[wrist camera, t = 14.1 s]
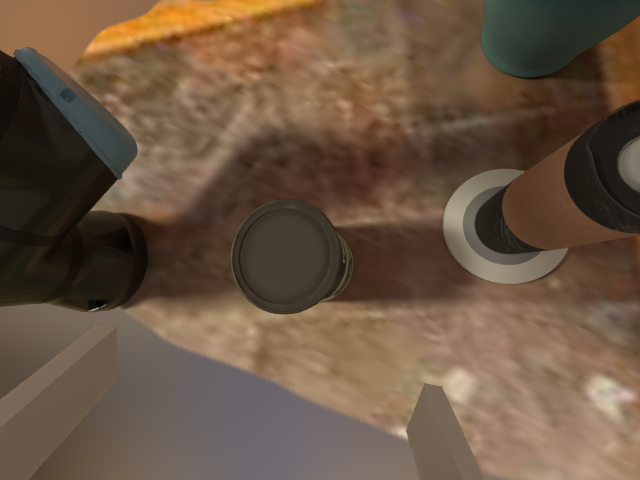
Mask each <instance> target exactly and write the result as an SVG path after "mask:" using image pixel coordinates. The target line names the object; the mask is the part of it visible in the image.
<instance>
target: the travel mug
mask: <svg viewBox="0 0 640 480" xmlns="http://www.w3.org/2000/svg"><path fill="white" fill-rule="evenodd" d="M474 225H475V231H476V234H477V236H478V238H479V240H480V241H481V242H482V243H483V244H484V245H485V246H486V247H487V248H489V249H490V250H492V251H494V252H497V253H501V254H521V253H530V252H540V251H549V250H558V249H564V248H569V247H575V246H581V245H587V244H592V243H598V242H604V241H609V240H615V239H621V238H627V237H632V236H638V235H640V100H637V101H634V102H631V103H629V104H627V105H624V106H622V107H620V108H618V109H616V110H615V111H613V112H611V113H610V114H608V115H607V116H606V117H605V118H604V119H602V120H601V121H599V122H598V123H596V124H595V125H593V126H592V127H590V128H589V129H587V130H586V131H584V132H583V133H581V134H580V135H579V136H577V137H576V138H574V139H573V140H571V141H570V142H568V143H567V144H565V145H564V146H562V147H561V148H559V149H558V150H556V151H555V152H553V153H552V154H550V155H549V156H547V157H546V158H544V159H543V160H542V161H540V162H539V163H537V164H536V165H534V166H533V167H531V168H530V169H528V170H527V171H525V172H524V173H522V174H521V175H519V176H518V177H517V178H515V179H514V180H513V181H511V182H510V183H509V184H508V185H506V186H505V187H504V188H503V189H501V190H500V191H499V192H497V193H496V194H495V195H494V196H492V197H491V198H490V199H489V200H487V201H486V202H485V203H484V204H483V205H482V206H481V207H480V208H479V210H478V212H477V214H476V217H475V223H474Z"/></svg>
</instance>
